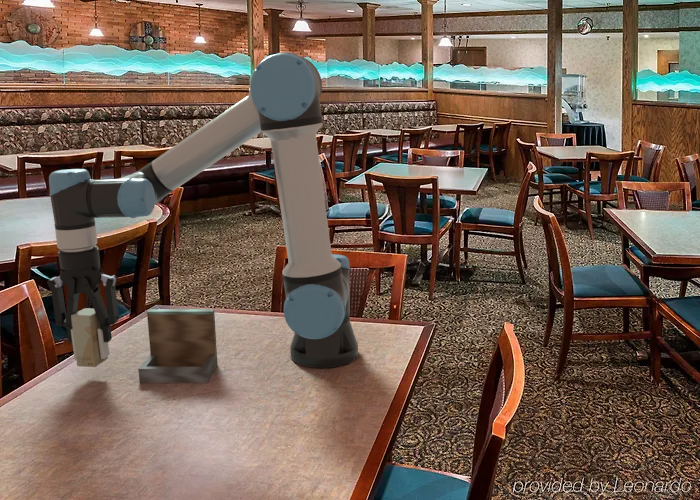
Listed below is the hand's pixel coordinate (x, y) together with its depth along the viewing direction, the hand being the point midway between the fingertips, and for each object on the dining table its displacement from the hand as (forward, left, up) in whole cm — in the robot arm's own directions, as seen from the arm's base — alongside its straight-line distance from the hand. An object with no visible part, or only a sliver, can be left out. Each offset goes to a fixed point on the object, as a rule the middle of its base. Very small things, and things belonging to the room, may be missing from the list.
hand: (92, 356), depth 141 cm
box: (0, 0, -2) cm, 2 cm away
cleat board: (-17, -2, -5) cm, 18 cm away
